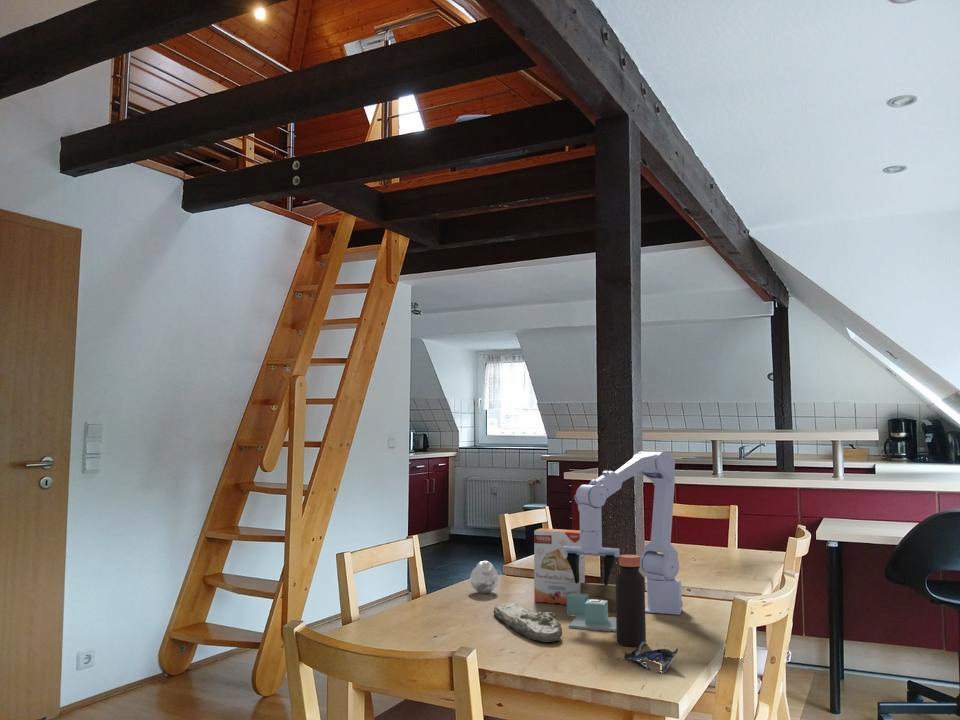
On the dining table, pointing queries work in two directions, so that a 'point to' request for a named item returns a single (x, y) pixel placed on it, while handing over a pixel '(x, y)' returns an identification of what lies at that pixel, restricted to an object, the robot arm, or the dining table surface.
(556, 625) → the elongated rock
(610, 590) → the walnut screen
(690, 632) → the dining table surface
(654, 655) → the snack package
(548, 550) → the cracker box
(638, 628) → the bottle
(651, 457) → the robot arm
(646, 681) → the dining table surface
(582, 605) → the blank cube
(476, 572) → the grey egg-shaped stone
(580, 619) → the slate tile
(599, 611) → the lettered cube
